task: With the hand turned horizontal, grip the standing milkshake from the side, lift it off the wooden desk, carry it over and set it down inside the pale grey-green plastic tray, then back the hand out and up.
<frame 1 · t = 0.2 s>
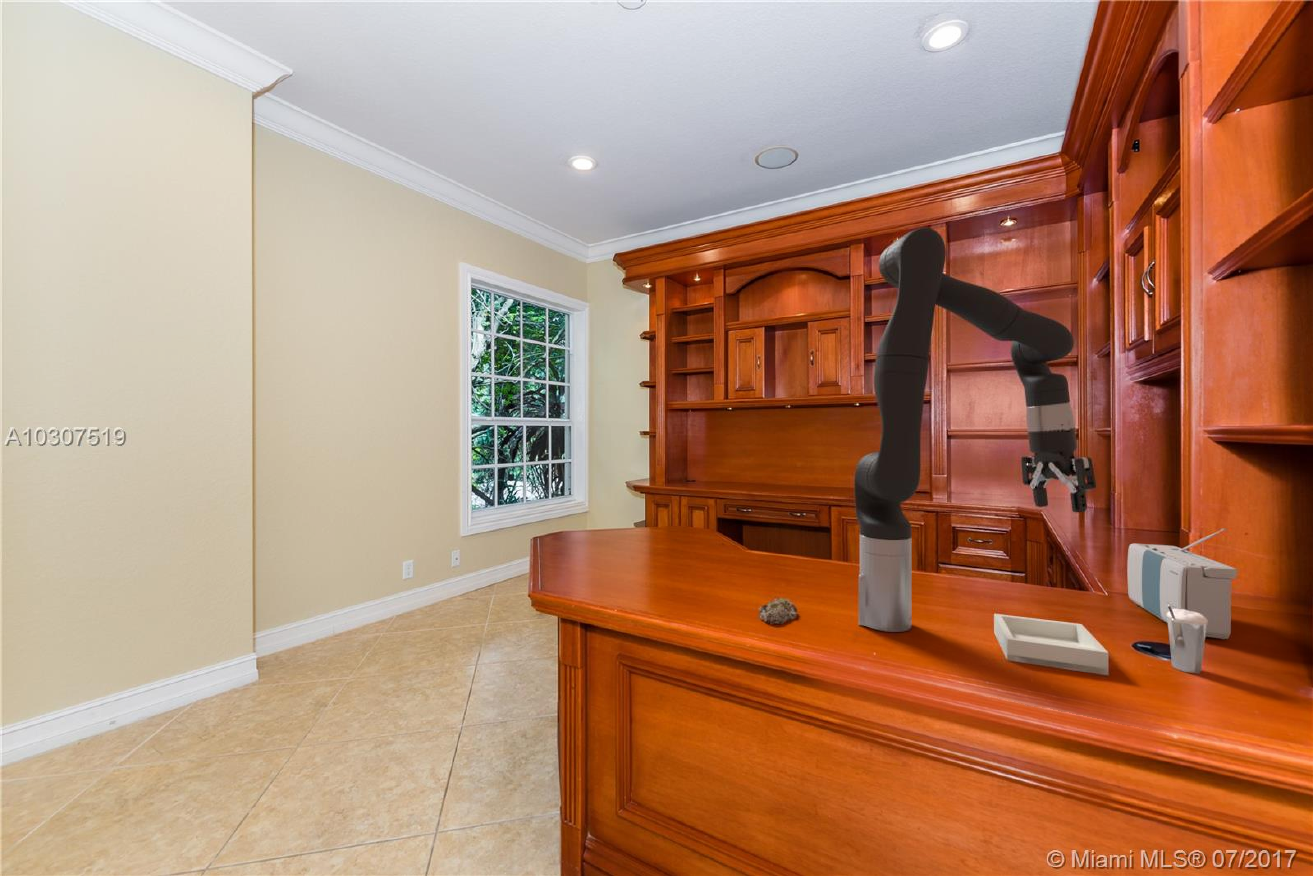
hand: (1060, 509, 104), 22 cm above the table, tool pointing down, fingers open, 8 cm apart
stereo radio cassette player: (1176, 622, 103), on the table
mineral rock: (776, 618, 107), on the table
milkshake: (1183, 670, 82), on the table
tray: (1045, 651, 89), on the table
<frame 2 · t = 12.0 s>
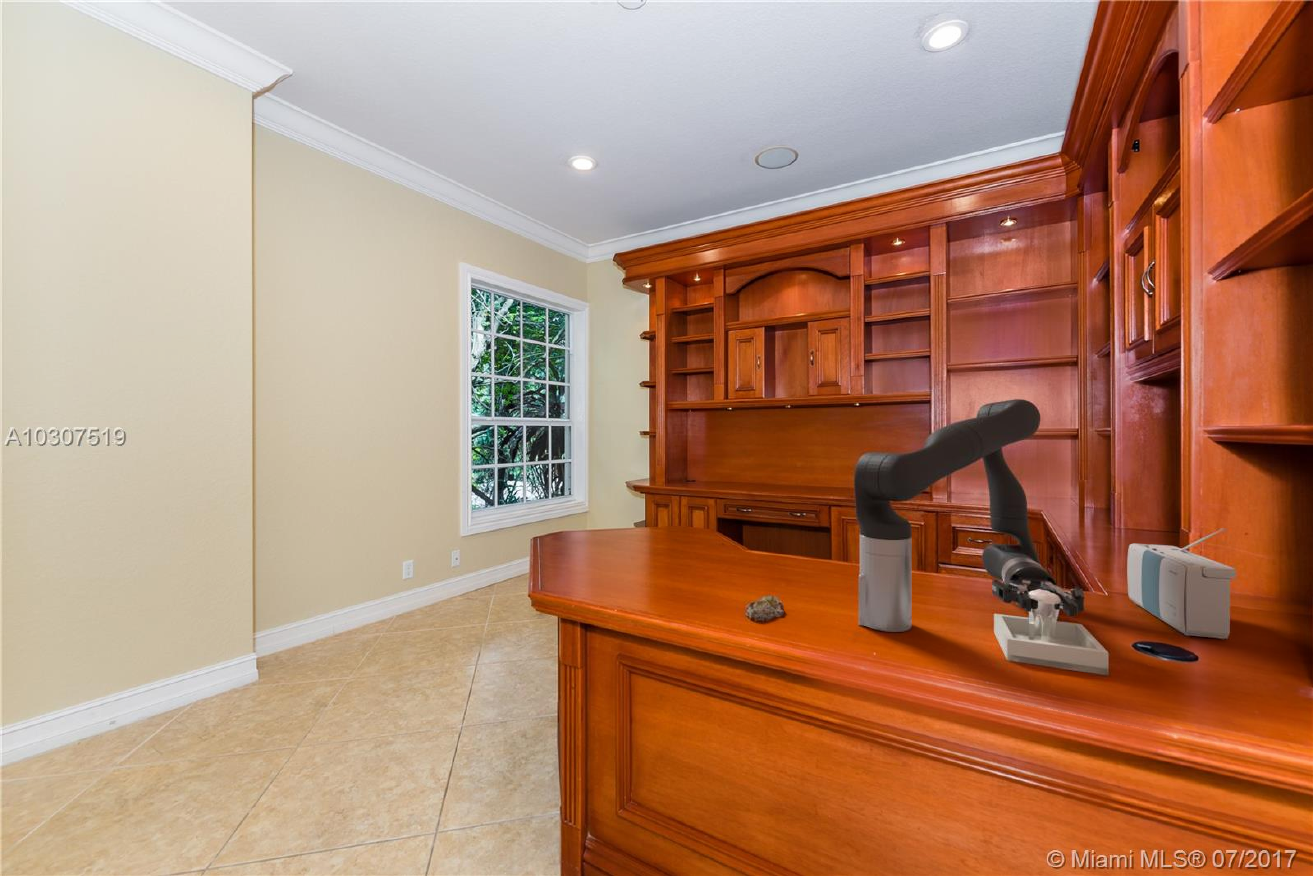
hand: (1050, 608, 87), 8 cm above the table, tool horizontal, fingers open, 5 cm apart
mineral rock: (763, 615, 108), on the table
milkshake: (1037, 645, 89), point 1 cm above the table, touching gripper
everything else where it was.
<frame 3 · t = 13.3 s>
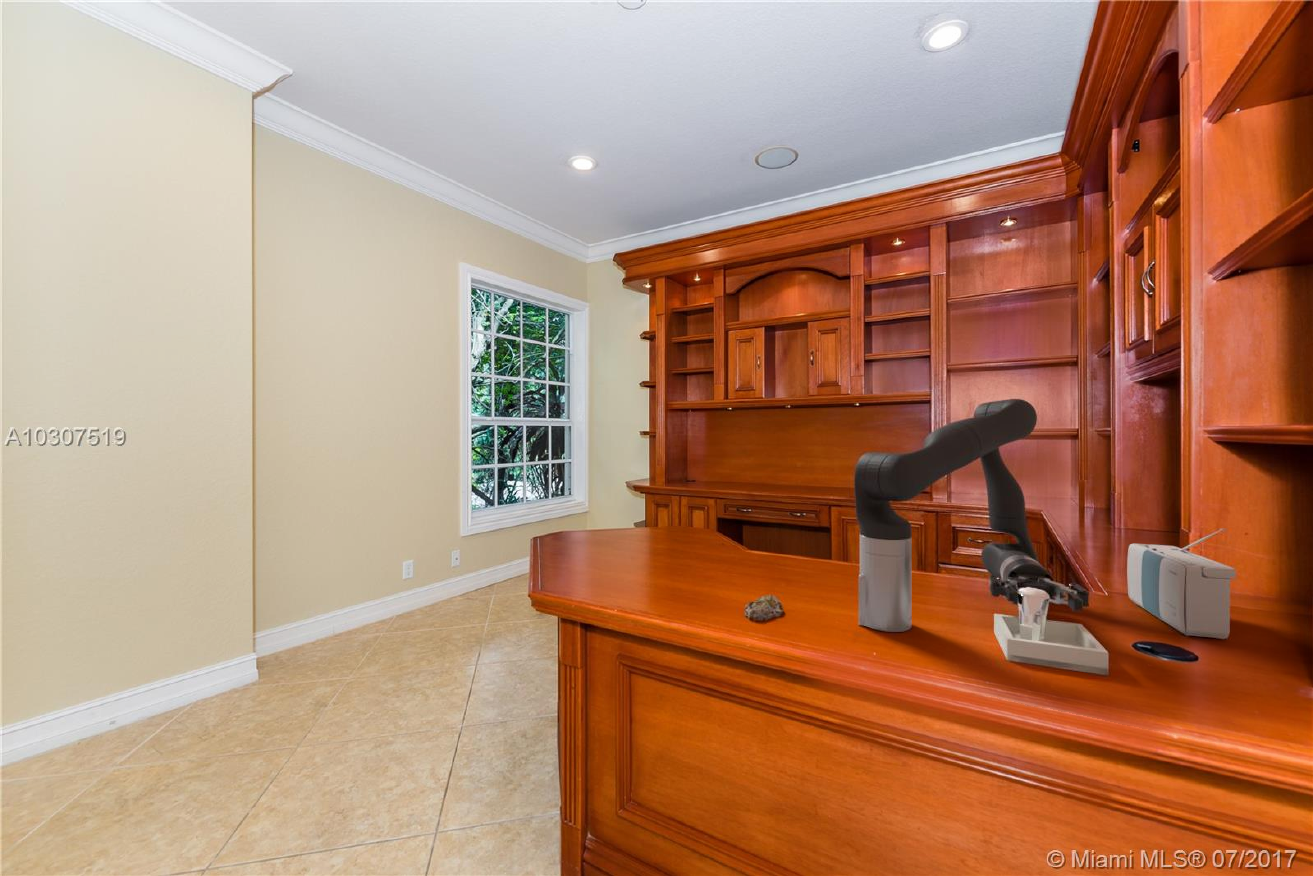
hand: (1045, 602, 89), 8 cm above the table, tool horizontal, fingers open, 8 cm apart
milkshake: (1028, 642, 90), point 1 cm above the table, touching gripper, tray
everything else where it was.
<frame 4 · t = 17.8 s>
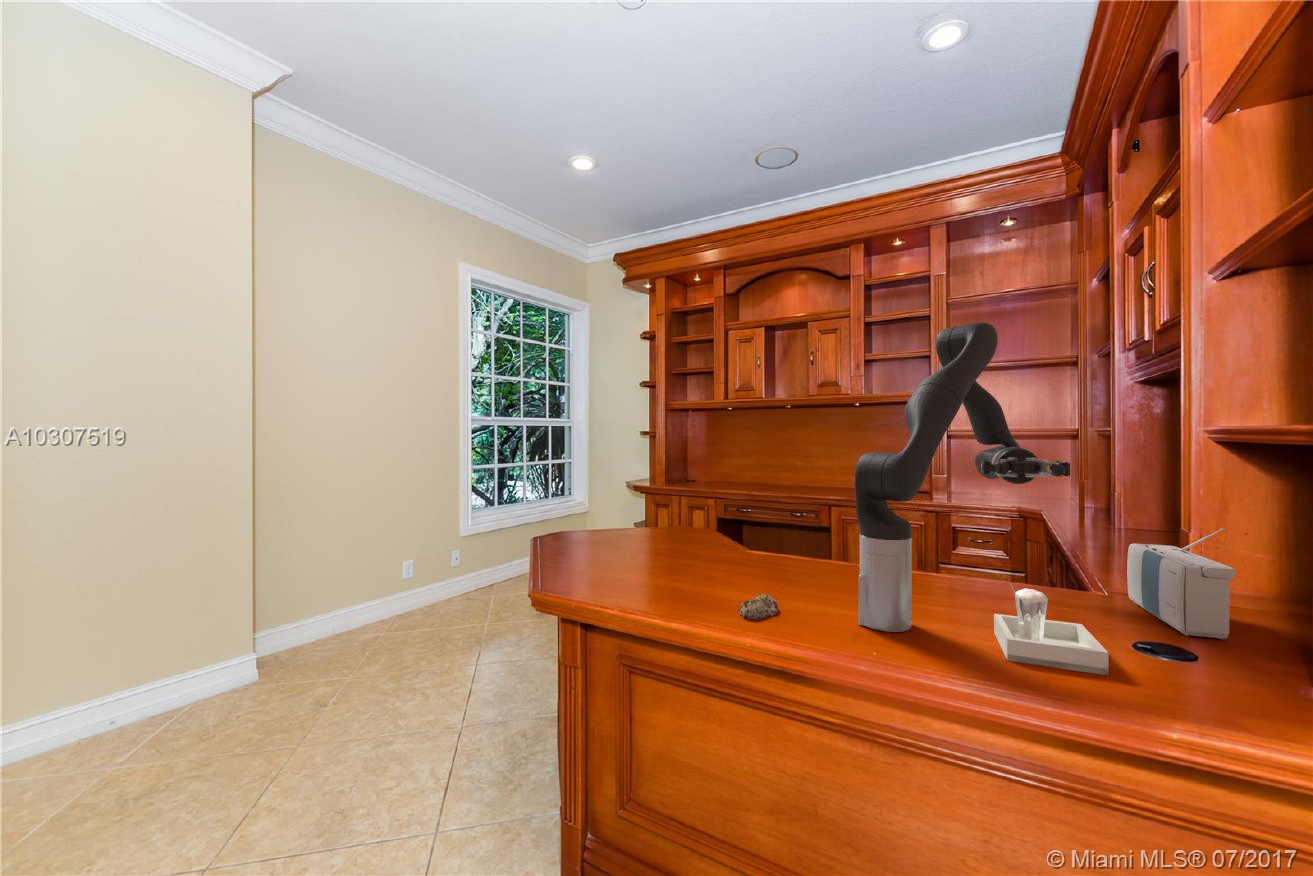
hand: (1031, 470, 99), 30 cm above the table, tool horizontal, fingers open, 8 cm apart
mineral rock: (757, 614, 109), on the table
milkshake: (1028, 644, 90), point 1 cm above the table, touching tray
everything else where it was.
at the end: milkshake inside the target area on the tray (2.4 cm from its centre), point 0.8 cm above the tray's base; milkshake tilted 0°; the gripper is holding nothing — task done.
